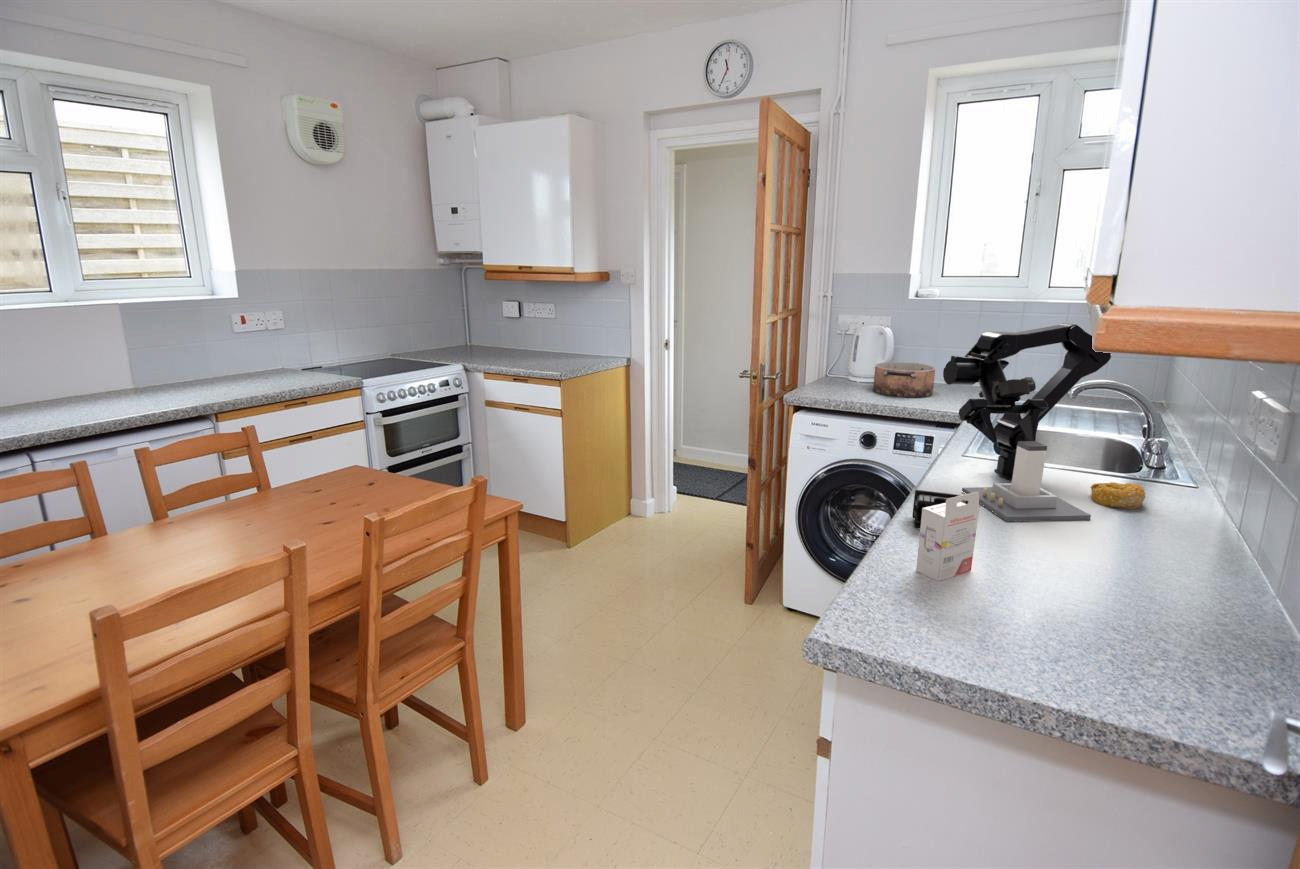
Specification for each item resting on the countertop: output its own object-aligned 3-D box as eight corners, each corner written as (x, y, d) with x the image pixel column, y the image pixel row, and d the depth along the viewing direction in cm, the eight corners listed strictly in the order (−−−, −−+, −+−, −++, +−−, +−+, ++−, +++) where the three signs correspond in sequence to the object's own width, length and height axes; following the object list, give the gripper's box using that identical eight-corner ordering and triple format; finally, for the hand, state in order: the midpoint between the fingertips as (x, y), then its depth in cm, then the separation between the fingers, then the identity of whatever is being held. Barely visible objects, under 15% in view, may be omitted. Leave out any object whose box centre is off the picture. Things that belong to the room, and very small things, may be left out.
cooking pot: (925, 402, 250) (929, 374, 247) (865, 396, 261) (867, 369, 258) (937, 389, 275) (940, 363, 272) (881, 384, 286) (883, 359, 283)
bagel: (1120, 493, 155) (1124, 474, 153) (1154, 511, 144) (1159, 491, 143) (1077, 494, 155) (1080, 474, 153) (1108, 512, 144) (1112, 491, 143)
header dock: (1036, 490, 156) (1038, 476, 155) (1090, 519, 139) (1093, 503, 138) (961, 491, 155) (963, 477, 154) (1006, 521, 138) (1008, 505, 137)
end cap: (964, 522, 137) (968, 491, 136) (965, 535, 131) (970, 503, 129) (912, 515, 141) (915, 485, 139) (911, 528, 135) (914, 496, 133)
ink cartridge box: (947, 560, 120) (957, 482, 116) (971, 571, 116) (983, 491, 112) (913, 570, 116) (923, 490, 112) (937, 582, 112) (948, 499, 108)
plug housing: (1026, 497, 149) (1035, 441, 145) (1037, 503, 145) (1047, 446, 142) (1009, 497, 149) (1017, 441, 145) (1020, 504, 145) (1029, 446, 141)
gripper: (973, 363, 150) (994, 424, 142) (1051, 364, 152) (1076, 424, 144) (949, 390, 159) (968, 448, 152) (1022, 391, 161) (1044, 448, 154)
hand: (1014, 442), depth 150 cm, fingers open, 9 cm apart
